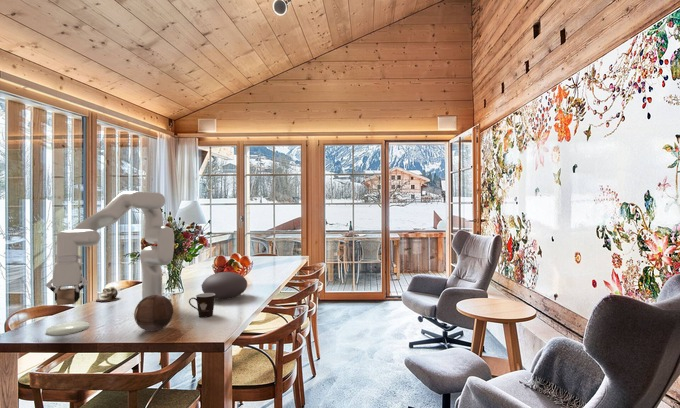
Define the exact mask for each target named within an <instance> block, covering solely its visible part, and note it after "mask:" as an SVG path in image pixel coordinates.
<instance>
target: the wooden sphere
mask: <svg viewBox="0 0 680 408" xmlns="http://www.w3.org/2000/svg"><path fill="white" fill-rule="evenodd" d="M168 298H169V297H166V296H165V295H163V294H162V295H150V296H147V297H145V298H144V299H142V298H141V300H140V301H139V302H138V304H136V307H135V309H134V313H133V316H134V317H133V318H134V321H135V323H136V325H137V327H139V328H141V329H142V330H143V331H147V332H156V331H160V330H162V329H164V328H165V327H167V326H168V324H170V322H171V321H172V318H173V316H174V307H173V304H172V301H171V302H170V300H169V299H168Z"/></svg>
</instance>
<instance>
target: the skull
mask: <svg viewBox="0 0 680 408" xmlns="http://www.w3.org/2000/svg"><path fill="white" fill-rule="evenodd" d="M118 291H119V290H118V289H117V288H116V287H115V286H113V285H107V286H106V287H104V288H103V289H102V292H101V293H100V298H96V299H95V301H97V302H108V301H109V302H110V301H117V300H121V297H117V296H118V293H119V292H118Z"/></svg>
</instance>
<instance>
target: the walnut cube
mask: <svg viewBox="0 0 680 408" xmlns="http://www.w3.org/2000/svg"><path fill="white" fill-rule="evenodd" d="M75 292H76V290H75V288H74V287H63V288H62V287H61V288H60V290H58V291H57V303H56V306H66V305H75V304H76V303H77V302H78V301H75Z"/></svg>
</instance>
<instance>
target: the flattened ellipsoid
mask: <svg viewBox="0 0 680 408" xmlns="http://www.w3.org/2000/svg"><path fill="white" fill-rule="evenodd" d="M247 287H248V281H247V279H246V278H245V277H244V276H243V275H241V274H240V273H237V272H232V271H222V272H221V271H220V272H215V273H213V274H211V275H208V276H207V277H206V278H205V279H204V280H203V281H202V284H201V290H202V293H214V294H215V300H229V299H233V298H237V297H239V296H241V295H242V294H243V293H244V292H245V291H247Z"/></svg>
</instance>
